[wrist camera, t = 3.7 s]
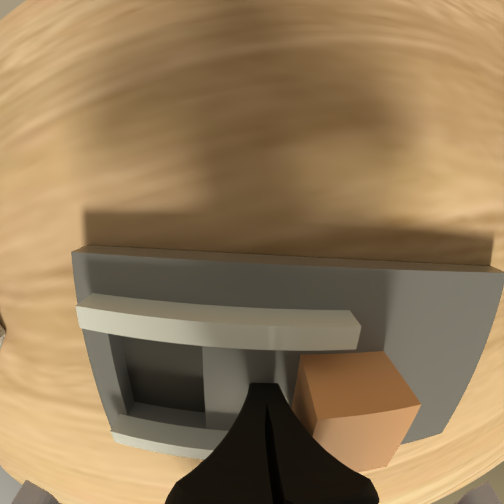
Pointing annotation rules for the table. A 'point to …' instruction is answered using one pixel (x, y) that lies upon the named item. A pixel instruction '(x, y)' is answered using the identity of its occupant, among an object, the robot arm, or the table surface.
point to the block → (354, 406)
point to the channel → (266, 333)
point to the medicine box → (2, 335)
